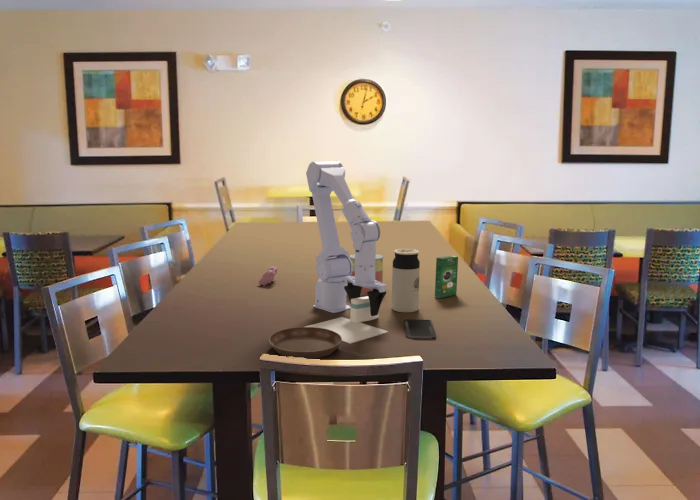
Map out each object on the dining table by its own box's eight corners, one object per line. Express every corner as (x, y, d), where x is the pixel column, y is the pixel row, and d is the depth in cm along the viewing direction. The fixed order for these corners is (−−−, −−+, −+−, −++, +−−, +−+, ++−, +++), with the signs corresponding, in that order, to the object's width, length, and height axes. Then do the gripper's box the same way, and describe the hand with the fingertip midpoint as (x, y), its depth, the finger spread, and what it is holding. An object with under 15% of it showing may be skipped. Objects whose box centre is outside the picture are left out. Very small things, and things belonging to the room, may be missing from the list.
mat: (304, 328, 168) (304, 326, 168) (342, 318, 178) (342, 316, 178) (349, 344, 156) (349, 343, 156) (388, 332, 165) (388, 331, 165)
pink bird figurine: (269, 290, 215) (278, 273, 214) (257, 284, 215) (266, 267, 214) (272, 283, 225) (281, 267, 224) (261, 278, 225) (269, 261, 223)
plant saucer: (350, 358, 147) (350, 346, 146) (275, 366, 142) (275, 353, 141) (331, 335, 163) (331, 324, 163) (263, 341, 158) (263, 330, 158)
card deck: (349, 321, 173) (350, 298, 172) (372, 316, 179) (373, 295, 178) (355, 323, 172) (356, 300, 171) (378, 318, 178) (379, 296, 177)
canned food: (389, 292, 208) (390, 257, 205) (361, 297, 201) (362, 260, 199) (369, 285, 217) (369, 251, 214) (342, 289, 210) (342, 255, 208)
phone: (406, 336, 160) (403, 319, 175) (405, 340, 160) (403, 322, 175) (436, 336, 160) (431, 319, 175) (436, 341, 160) (431, 323, 175)
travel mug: (386, 309, 187) (387, 250, 184) (402, 304, 193) (404, 247, 189) (407, 315, 181) (408, 254, 178) (423, 309, 187) (425, 250, 184)
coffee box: (450, 293, 207) (452, 254, 205) (457, 294, 205) (458, 255, 202) (434, 297, 202) (435, 257, 199) (440, 298, 200) (441, 258, 197)
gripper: (336, 263, 175) (336, 309, 178) (373, 271, 165) (373, 320, 167) (355, 259, 180) (354, 305, 182) (391, 267, 170) (391, 315, 172)
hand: (364, 312), depth 175 cm, fingers open, 7 cm apart
